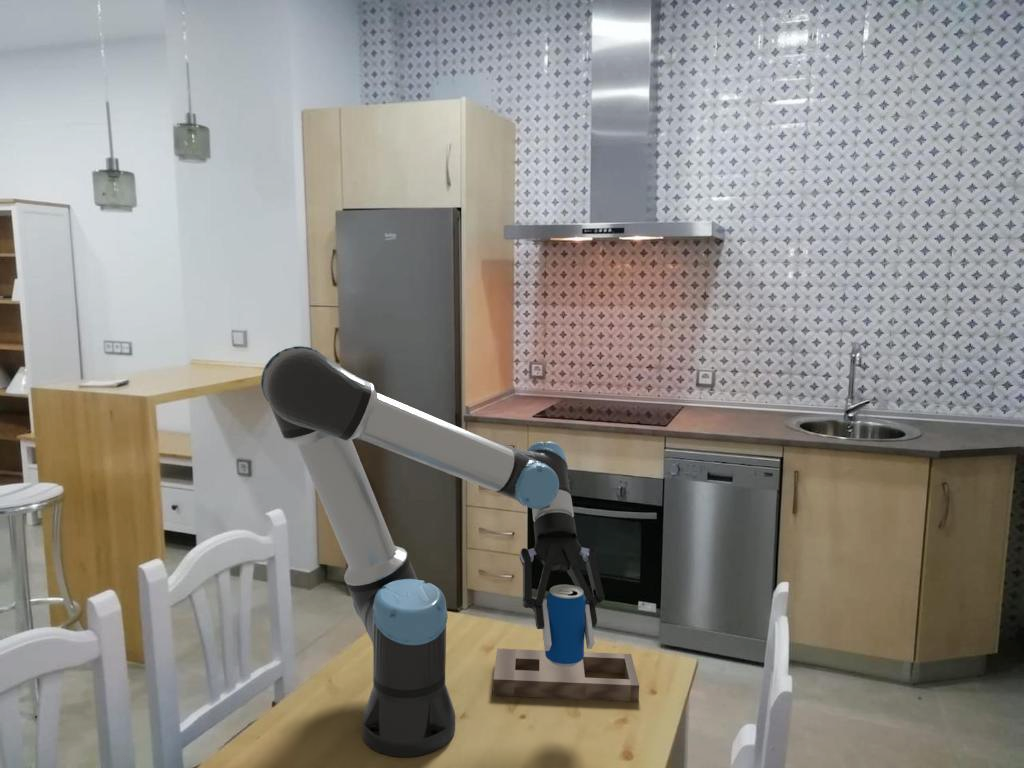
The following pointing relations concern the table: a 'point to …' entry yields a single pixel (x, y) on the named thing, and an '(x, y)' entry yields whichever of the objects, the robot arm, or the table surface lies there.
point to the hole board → (564, 676)
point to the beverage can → (566, 624)
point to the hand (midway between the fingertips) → (569, 646)
